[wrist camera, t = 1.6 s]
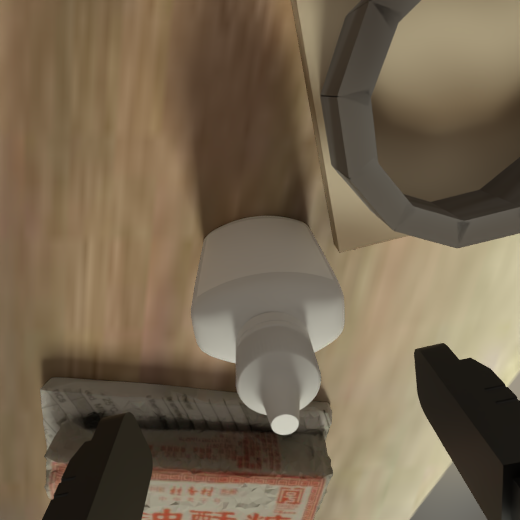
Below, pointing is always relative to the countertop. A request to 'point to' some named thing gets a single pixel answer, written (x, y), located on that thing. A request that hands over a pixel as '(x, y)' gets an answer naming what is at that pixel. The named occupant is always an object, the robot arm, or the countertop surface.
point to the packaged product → (197, 449)
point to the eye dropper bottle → (267, 312)
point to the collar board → (415, 117)
